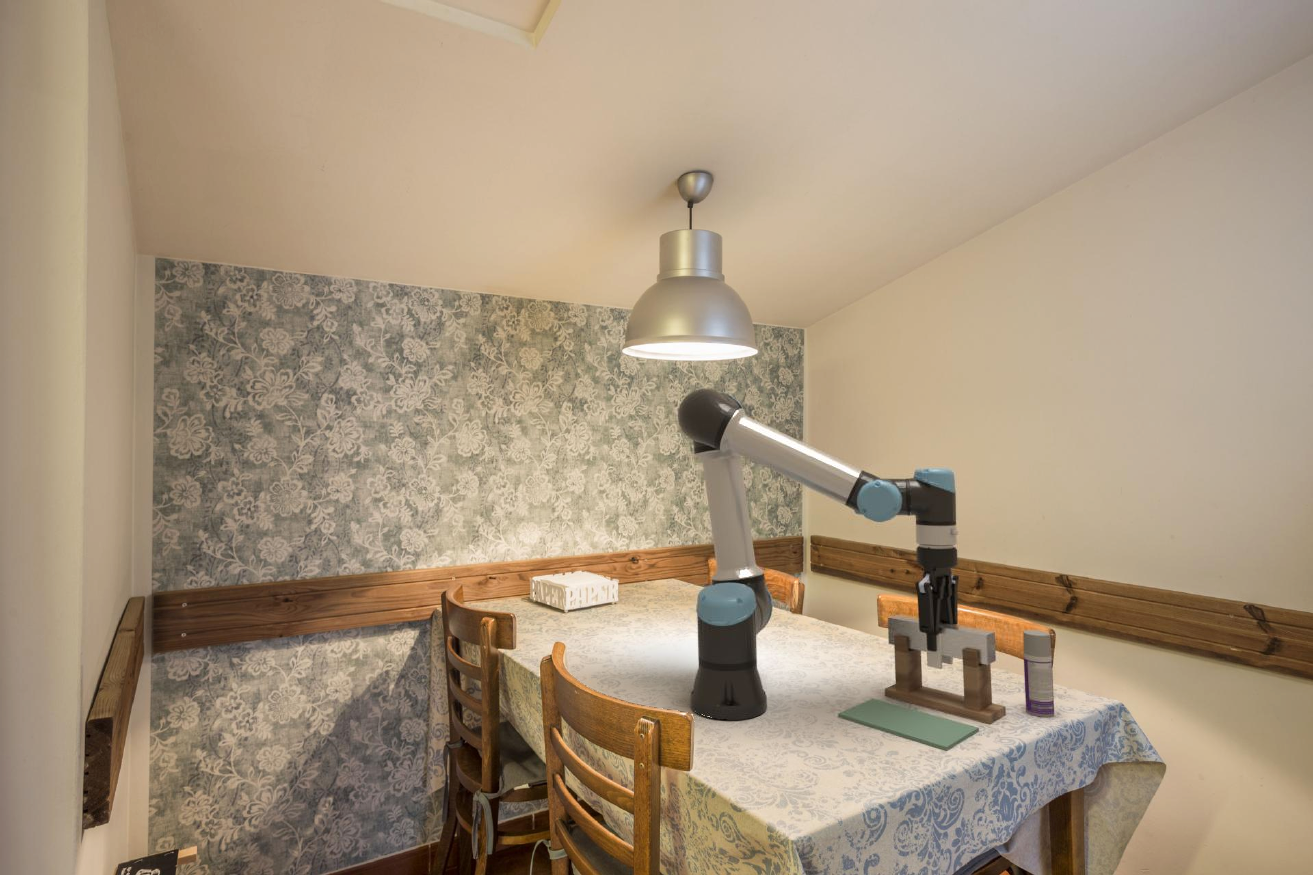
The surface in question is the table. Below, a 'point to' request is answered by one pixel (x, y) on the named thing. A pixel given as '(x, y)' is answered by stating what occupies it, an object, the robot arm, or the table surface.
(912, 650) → the rack
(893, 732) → the mat
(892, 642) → the rail
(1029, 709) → the container
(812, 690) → the table surface
